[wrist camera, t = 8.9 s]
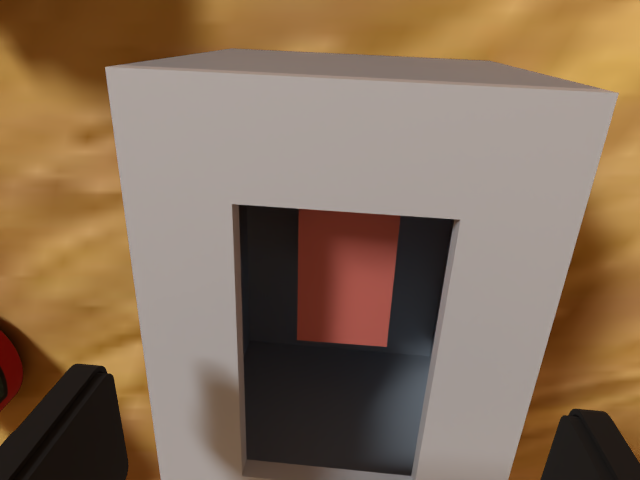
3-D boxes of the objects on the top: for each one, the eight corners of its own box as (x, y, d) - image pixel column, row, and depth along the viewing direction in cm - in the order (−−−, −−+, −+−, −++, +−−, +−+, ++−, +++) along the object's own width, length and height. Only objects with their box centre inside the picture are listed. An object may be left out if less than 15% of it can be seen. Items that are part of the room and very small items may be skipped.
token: (386, 347, 16) (405, 171, 13) (296, 340, 16) (299, 165, 14) (381, 265, 21) (393, 130, 19) (314, 261, 21) (318, 126, 19)
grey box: (438, 359, 24) (484, 564, 15) (241, 342, 24) (167, 528, 15) (490, 60, 18) (618, 92, 9) (231, 48, 19) (105, 67, 10)
